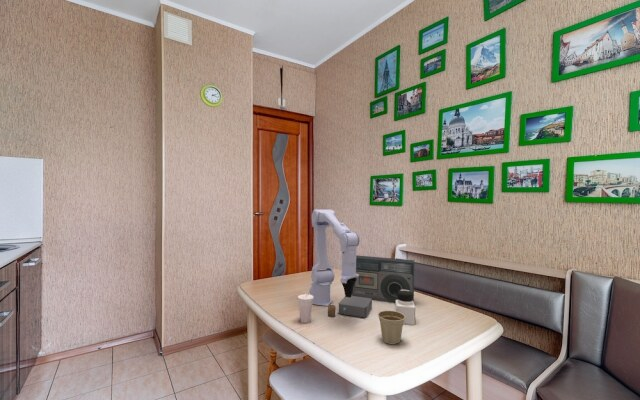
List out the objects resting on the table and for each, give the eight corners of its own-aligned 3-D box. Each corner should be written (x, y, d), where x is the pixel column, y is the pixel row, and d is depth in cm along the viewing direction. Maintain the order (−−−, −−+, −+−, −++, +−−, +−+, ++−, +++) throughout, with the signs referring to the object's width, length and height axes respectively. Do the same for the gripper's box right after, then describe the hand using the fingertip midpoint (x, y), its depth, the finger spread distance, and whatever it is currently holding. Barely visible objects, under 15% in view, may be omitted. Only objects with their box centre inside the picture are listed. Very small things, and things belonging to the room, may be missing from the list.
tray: (364, 317, 118) (364, 308, 118) (338, 313, 122) (338, 304, 122) (370, 307, 130) (370, 299, 130) (346, 304, 134) (346, 295, 134)
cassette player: (352, 297, 145) (352, 257, 145) (355, 293, 152) (356, 255, 152) (412, 306, 135) (413, 263, 135) (413, 301, 141) (414, 260, 141)
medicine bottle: (415, 325, 113) (415, 294, 113) (396, 323, 115) (396, 293, 115) (413, 318, 120) (413, 289, 120) (395, 316, 122) (395, 287, 122)
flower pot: (374, 334, 105) (374, 310, 105) (399, 333, 106) (399, 309, 106) (381, 347, 96) (382, 321, 96) (409, 346, 97) (409, 320, 97)
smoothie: (301, 325, 112) (301, 289, 112) (294, 319, 117) (295, 284, 117) (316, 322, 115) (316, 286, 115) (309, 316, 120) (309, 282, 120)
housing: (366, 317, 120) (366, 307, 120) (338, 313, 124) (338, 302, 124) (371, 308, 130) (371, 298, 130) (346, 304, 135) (346, 295, 135)
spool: (326, 316, 121) (326, 306, 121) (329, 313, 124) (329, 304, 124) (334, 317, 119) (334, 308, 119) (336, 314, 122) (336, 305, 122)
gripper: (354, 267, 108) (353, 304, 108) (362, 260, 121) (362, 292, 121) (336, 265, 110) (335, 301, 110) (346, 258, 124) (346, 290, 124)
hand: (348, 296), depth 116 cm, fingers closed
